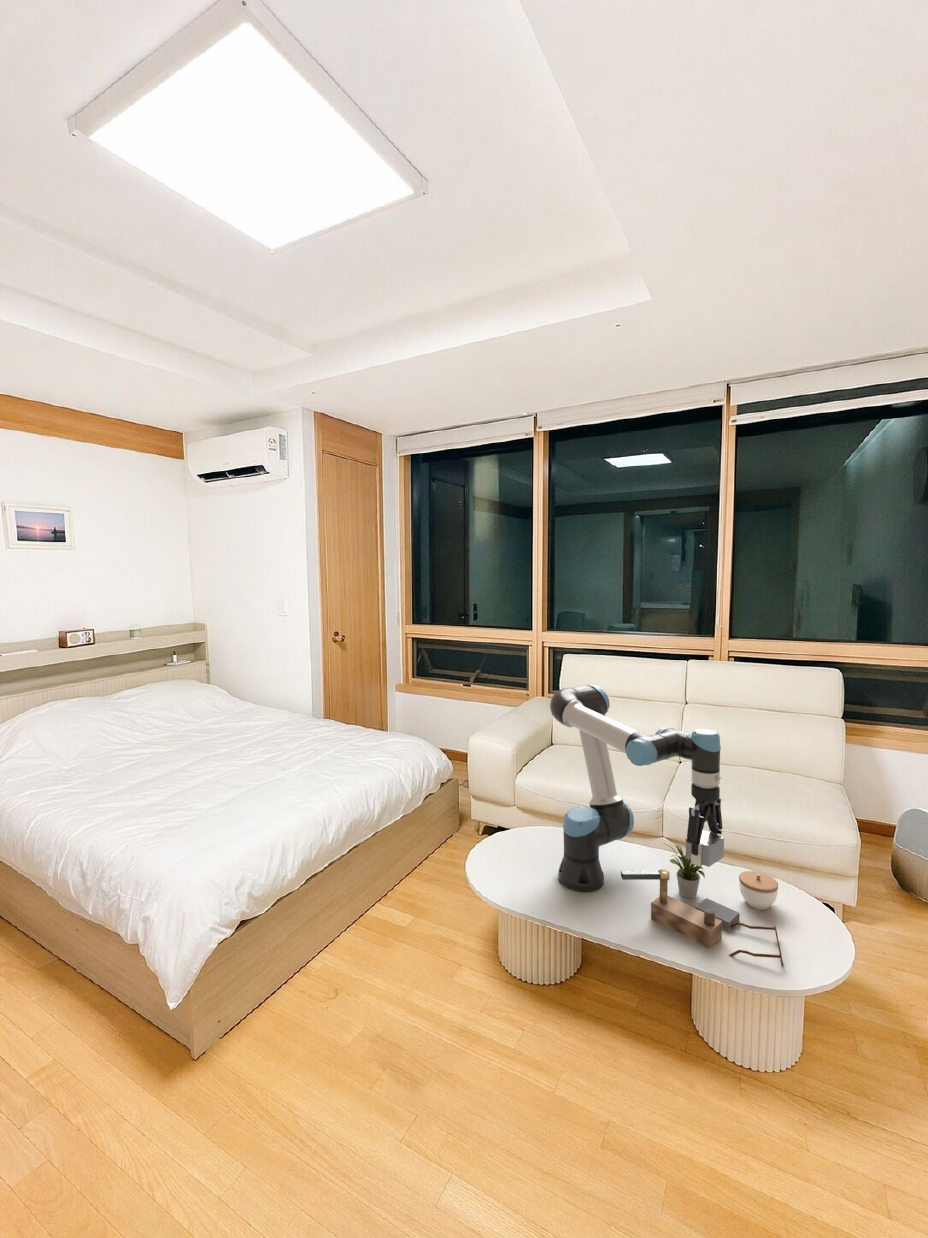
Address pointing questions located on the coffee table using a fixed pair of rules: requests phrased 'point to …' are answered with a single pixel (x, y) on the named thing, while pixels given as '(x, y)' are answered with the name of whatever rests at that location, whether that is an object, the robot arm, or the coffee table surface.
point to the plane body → (686, 918)
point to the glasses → (755, 953)
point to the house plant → (687, 875)
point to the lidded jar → (758, 889)
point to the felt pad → (720, 913)
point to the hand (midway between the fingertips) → (704, 859)
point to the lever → (646, 875)
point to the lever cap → (709, 848)
